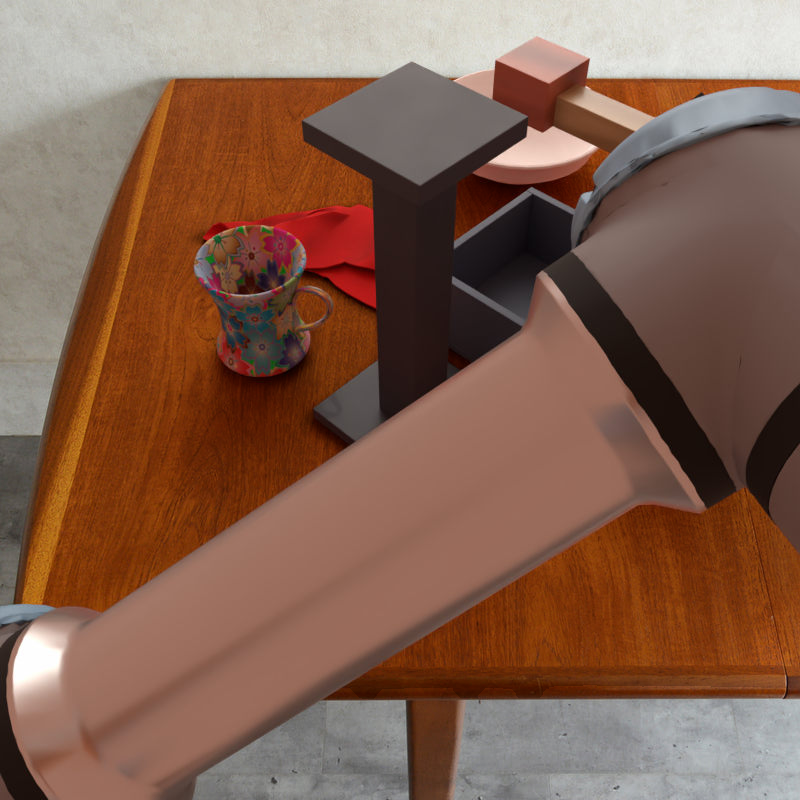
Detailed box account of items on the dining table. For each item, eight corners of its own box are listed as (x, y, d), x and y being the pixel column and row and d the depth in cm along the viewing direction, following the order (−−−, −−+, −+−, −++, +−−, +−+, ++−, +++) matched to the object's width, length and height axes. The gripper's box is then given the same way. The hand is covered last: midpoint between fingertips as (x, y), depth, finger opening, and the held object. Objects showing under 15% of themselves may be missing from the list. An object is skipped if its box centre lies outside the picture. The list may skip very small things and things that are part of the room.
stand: (415, 497, 71) (420, 201, 50) (313, 417, 77) (277, 120, 55) (511, 413, 77) (552, 115, 55) (409, 345, 82) (411, 50, 61)
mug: (194, 369, 80) (171, 279, 72) (244, 304, 86) (228, 214, 78) (315, 407, 77) (304, 318, 69) (358, 337, 83) (354, 247, 75)
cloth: (479, 246, 92) (481, 228, 90) (420, 330, 83) (420, 312, 82) (265, 178, 99) (262, 161, 98) (192, 249, 91) (188, 231, 90)
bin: (641, 474, 72) (662, 412, 67) (419, 328, 84) (420, 264, 78) (739, 372, 80) (766, 308, 74) (523, 250, 91) (531, 186, 85)
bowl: (392, 150, 103) (392, 100, 98) (527, 99, 110) (533, 50, 105) (497, 241, 92) (503, 190, 87) (640, 178, 99) (652, 127, 94)
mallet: (747, 231, 59) (766, 180, 56) (491, 108, 69) (494, 59, 66) (784, 198, 61) (804, 147, 58) (531, 84, 71) (536, 35, 68)
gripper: (797, 463, 60) (576, 193, 61) (896, 343, 67) (698, 103, 68) (891, 432, 53) (641, 129, 54) (990, 303, 61) (769, 37, 61)
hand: (673, 115), depth 61 cm, fingers closed on mallet, 2 cm apart
